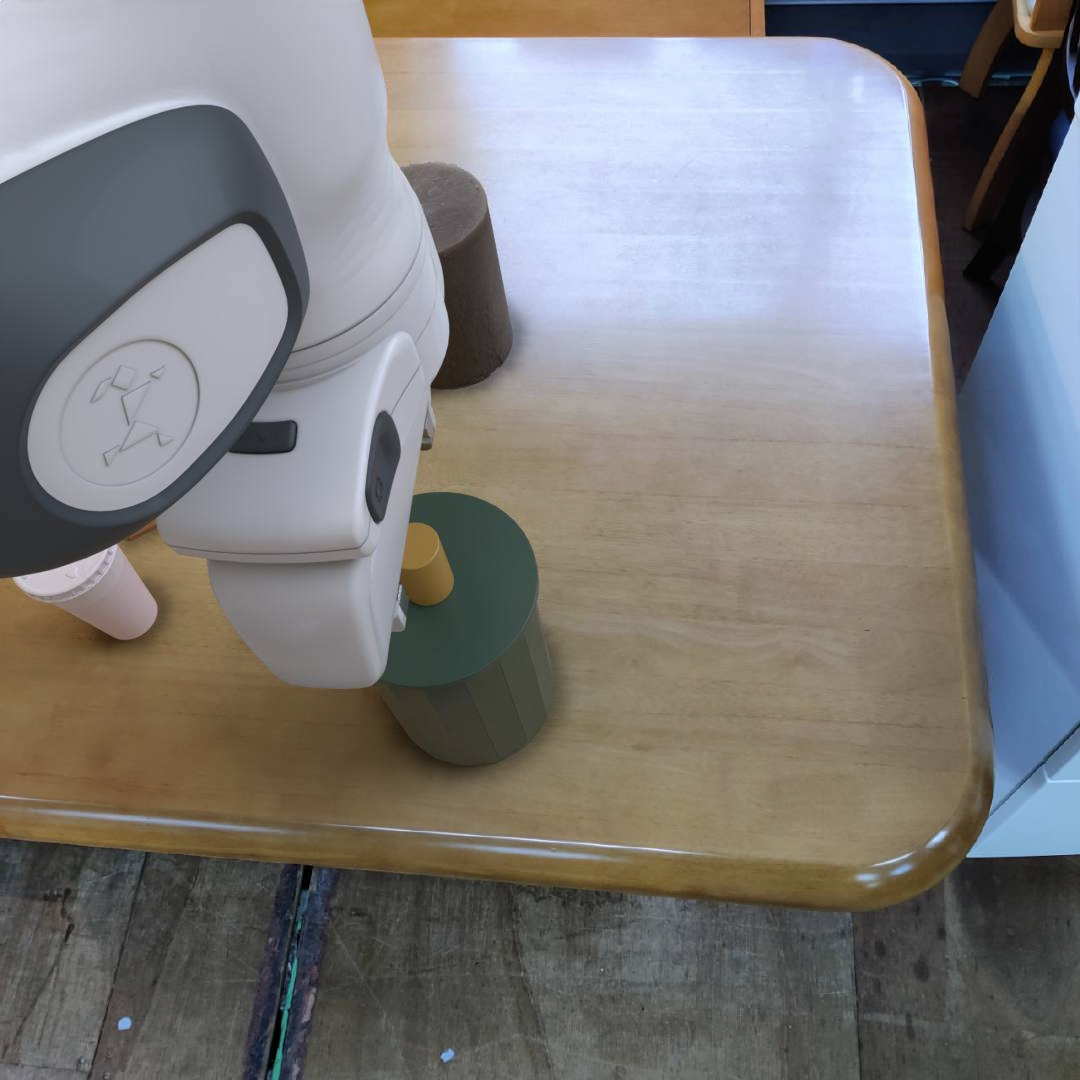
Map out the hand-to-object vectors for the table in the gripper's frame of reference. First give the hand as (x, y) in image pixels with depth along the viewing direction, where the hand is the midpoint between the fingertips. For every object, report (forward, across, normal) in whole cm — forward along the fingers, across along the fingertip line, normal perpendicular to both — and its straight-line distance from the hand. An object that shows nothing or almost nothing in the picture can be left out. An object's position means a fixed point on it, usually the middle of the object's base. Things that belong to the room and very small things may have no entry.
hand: (404, 523), depth 44 cm
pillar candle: (+21, -29, -5) cm, 37 cm away
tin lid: (+6, 0, 0) cm, 7 cm away
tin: (+21, 0, 0) cm, 21 cm away
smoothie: (+21, -4, -25) cm, 33 cm away
